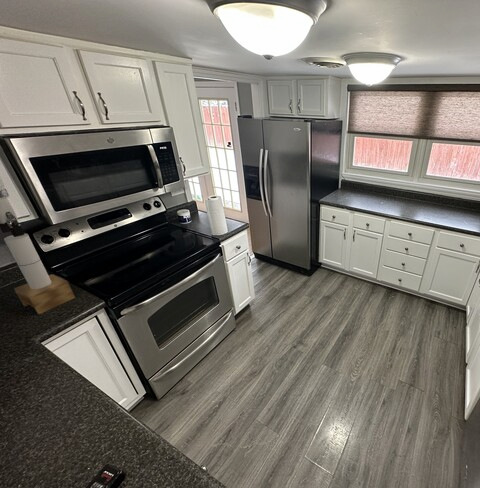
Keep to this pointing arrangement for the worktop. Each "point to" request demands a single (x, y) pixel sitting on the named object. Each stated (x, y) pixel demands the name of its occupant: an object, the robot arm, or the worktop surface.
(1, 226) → the robot arm
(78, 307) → the worktop surface
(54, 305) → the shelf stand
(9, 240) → the cylindrical container
